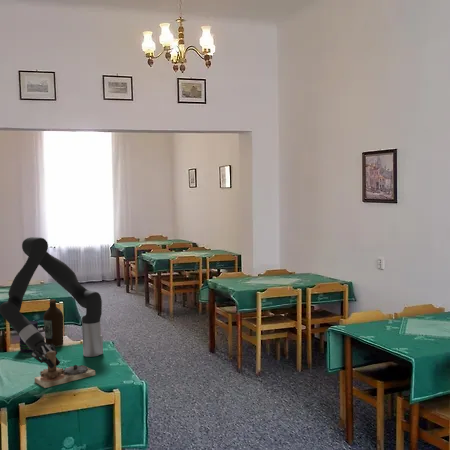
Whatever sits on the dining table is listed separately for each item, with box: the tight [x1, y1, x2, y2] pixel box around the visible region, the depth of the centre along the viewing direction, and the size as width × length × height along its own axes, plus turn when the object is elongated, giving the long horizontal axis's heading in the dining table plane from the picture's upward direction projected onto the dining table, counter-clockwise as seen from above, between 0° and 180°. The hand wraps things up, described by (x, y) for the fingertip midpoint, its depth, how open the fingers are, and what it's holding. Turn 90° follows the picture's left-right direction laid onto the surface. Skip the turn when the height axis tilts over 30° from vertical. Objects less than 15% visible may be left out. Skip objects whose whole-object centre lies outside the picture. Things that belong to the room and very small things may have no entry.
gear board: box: [34, 364, 96, 389], centre depth 249 cm, size 24×11×5 cm, turn 132°
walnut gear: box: [39, 350, 65, 378], centre depth 245 cm, size 10×10×10 cm
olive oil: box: [42, 298, 64, 347], centre depth 308 cm, size 11×11×25 cm
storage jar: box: [19, 320, 39, 354], centre depth 297 cm, size 10×10×15 cm
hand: (55, 365), depth 244 cm, fingers closed on walnut gear, 3 cm apart
